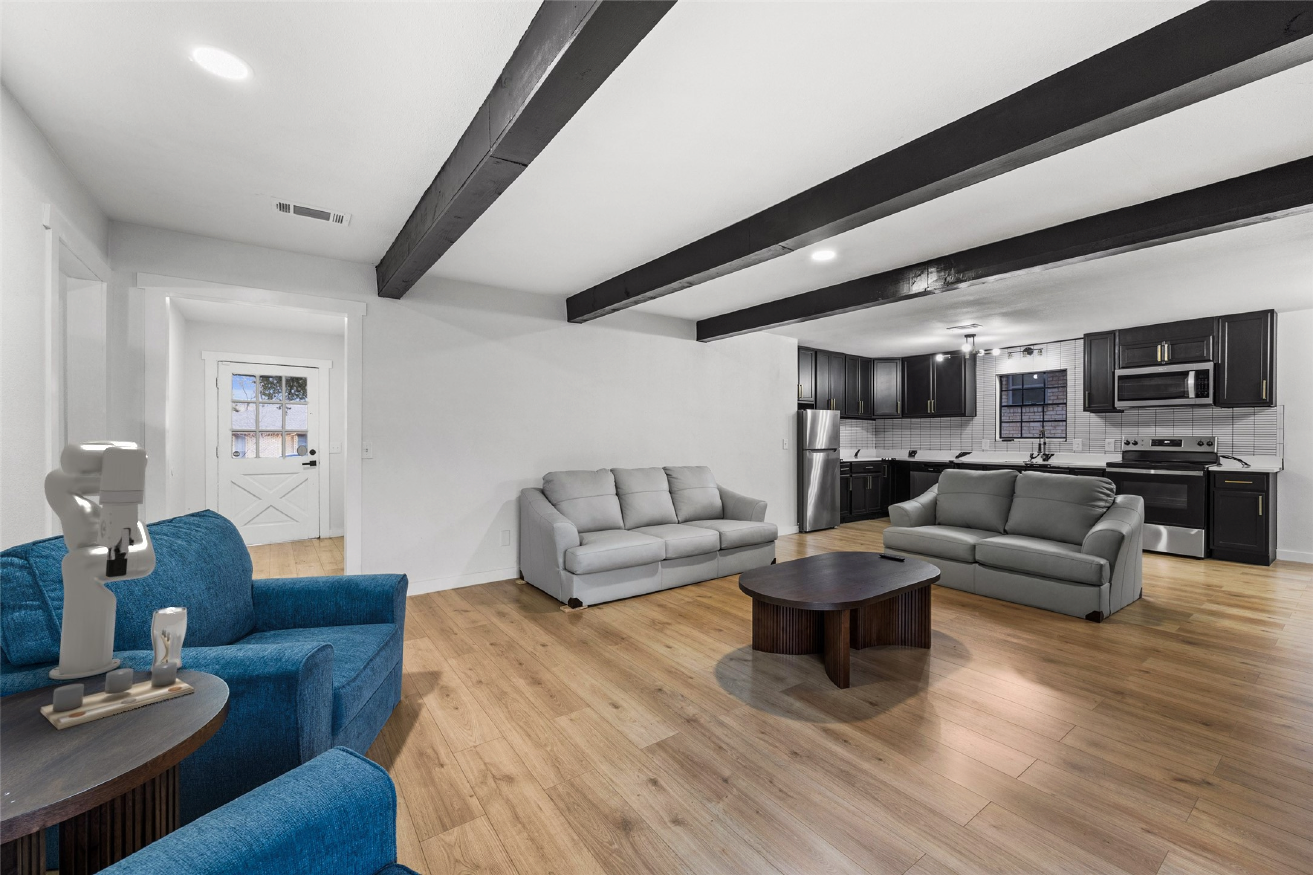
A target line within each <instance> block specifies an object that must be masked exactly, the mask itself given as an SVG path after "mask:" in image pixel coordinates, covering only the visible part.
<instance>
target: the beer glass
mask: <svg viewBox="0 0 1313 875" xmlns="http://www.w3.org/2000/svg"><path fill="white" fill-rule="evenodd" d="M187 613H188V610H187V607H183V606H177V607H176V606H175V607H166V608H160V609H158V610H154V611H153V615H152V620H151V630H150V634H151V644H152V649H153V650H152V651H153V661H152V665H151V667H150V672H151V673H152V668H153V667H154V666H156V665H159V664H163V663H170V662H174V663H177V670H178V669H180V668H181V667H182V666H183V663H182V662H183V661H182V657H181V654H182V647H183V642H184V639H185V637H186V632H187V624H188V623H187V622H188V616H187V615H188V614H187Z"/></svg>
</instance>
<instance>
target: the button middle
mask: <svg viewBox="0 0 1313 875" xmlns="http://www.w3.org/2000/svg"><path fill="white" fill-rule="evenodd" d="M133 678H134V668H129V667H128V668H119V669H116V670H114V669H113V670H110V671H107V673H106V674H105V684H104V685H105V687H104V692H105V693H106V694H115V693H121V692H124V691H127V690H130V689H131V688H132V685H133V682H134V681H133V680H134V679H133Z"/></svg>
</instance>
